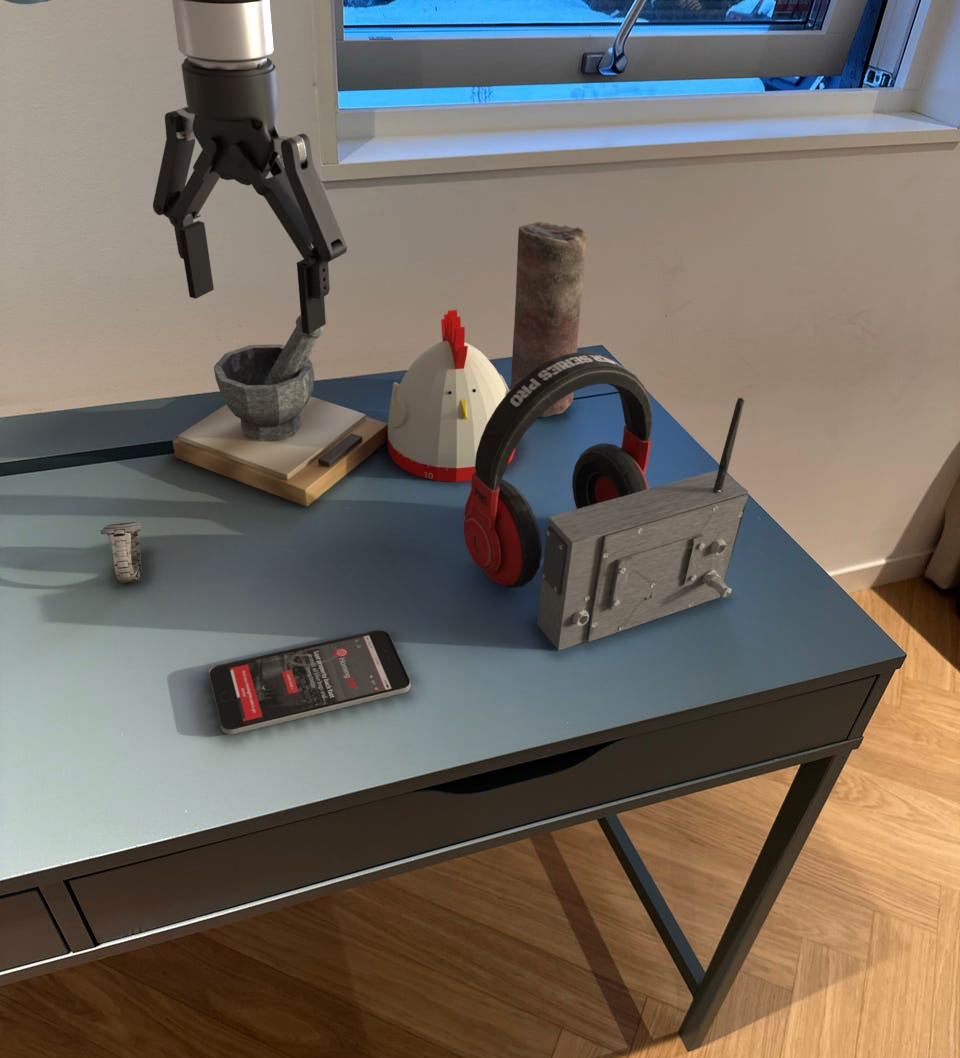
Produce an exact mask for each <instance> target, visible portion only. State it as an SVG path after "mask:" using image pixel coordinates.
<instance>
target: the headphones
mask: <svg viewBox="0 0 960 1058" xmlns="http://www.w3.org/2000/svg"><path fill="white" fill-rule="evenodd" d="M595 385H609V386H611V387H613V388H614V389H615V390H616V391H618V395H619V398H620V401H621V407H622V413H623V419H624V420H623V421H624V426H623V432H622V433H623V435H622V441H621V446H618V445H616V444H613V443H607V442H604V443H603V442H602V443H598V444H595V445H592V446H590V447H588V448H586V449H584V451H583V452H582V453H581V454H580V455H579V457H578V458H577V461H576V463H575V465H574V469H573V473H572V484H571V486H572V488H571V489H572V494H573V500H574V504H575V508H576V509H579V508H583V507H586V506H590V505H593V504H597V503H601V502H604V501H608V500H611V499H615V498H619V497H622V496H626V495H629V494H633V493H636V492H640V491H644V490H647V489H650V486H649V483H648V480H647V478H646V476H645V475H646V471H647V468H648V464H649V459H650V453H651V447H652V439H651V438H650V437H651V434H652V429H653V409H652V401H651V399H650V396H649V395H650V394H649V393H648V391H647V389H646V387H645V385H644V384H643V383H642V382H641V380H640V379H639V378H638V377H637V376H636V375H635V374H634V373H632V372H631V371H629V370H628V369H626V368H625V367H624V366H622V365H621V364H619V363H618V362H616V361H614V360H613V359H611V358H610V357H608V356H607V355H604V354H600V353H598V352H594V351H577V353H571V354H566V355H563V356H560V357H557V358H554V359H551V360H550V361H548V362H546V363H544V364H542V365H540V366H538V367H537V368H535V369H534V370H533V371H531V372H530V373H529V374H527V375H526V376H525V377H524V378H522V379H521V380H520V381H519V382H518V383H517V384H516V385H515V386H514V387H513V388H512V389H511V388H510V389H509V390H510V391H509V392H508V393H507V394H506V396H505V397H504V398H503V400H502V401H501V402H500V404H499V405H498V406H497V408H496V409H495V411H494V412H493V414H492V416H491V418H490V419H489V421H488V423H487V425H486V427H485V429H484V432H483V434H482V436H481V439H480V443H479V446H478V449H477V452H476V459H475V470H476V471H475V472H473V474H472V480H471V485H470V487H471V488H470V492H469V494H468V497H467V500H466V503H465V507H464V513H463V515H464V519H463V524H462V529H463V530H462V532H463V533H462V534H463V538H464V542H465V545H466V548H467V551H468V553H469V555H470V557H471V558H472V560H473V561H474V563H475V564H476V566H478V567H479V568H480V569H481V570H482V571H483V572H484V574H485V575H486V576H487V577H488V578H490V579H491V580H492V581H493V582H496V583H497V584H498V585H500V586H502V587H505V588H507V589H515V588H522V587H523V586H525V585H527V584H528V583H529V582H531V581H533V580H534V578H535V577H536V575H537V574H538V571H539V569H540V567H541V566H540V565H541V563H542V553H543V551H542V549H543V548H542V547H543V545H542V539H541V533H540V529H539V525H538V523H537V518H536V516H535V514H534V512H533V510H532V509H533V508H532V507H531V506H530V504H529V502H528V501H527V499H526V497H525V495H524V494H523V493H522V492H520V490H519V489H518V488H517V487H516V486H515V485H513V484H512V483H511V482H509V481H507V480H505V479H503V476H504V474H505V472H506V470H507V467H508V464H509V463H510V462H509V459H510V457H511V455H512V453H513V451H514V449H515V450H516V447H517V445H518V444H519V442H520V441H521V439H522V438H523V436H524V435H525V433H526V432H527V431H528V430H529V429H530V428H531V426H533V424H534V423H535V422H536V421H537V419H538V418H540V417H539V416H540V415H541V414H542V413H544V412H545V411H546V410H547V409H548V408H549V407H551V406H552V405H553V404H555V403H556V402H557V401H559V400H560V399H561V398H563V397H565V396H567V395H568V394H570V393H572V392H575V391H578V390H581V389H584V388H586V387H589V386H595ZM514 452H515V451H514ZM508 462H509V463H508Z"/></svg>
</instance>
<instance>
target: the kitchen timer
mask: <svg viewBox="0 0 960 1058" xmlns="http://www.w3.org/2000/svg"><path fill="white" fill-rule="evenodd" d="M443 315H444V316H443V318H441V319H440V321H441V322H440V324H441V337H442V339H441V340H442V341H440V342H438V343H436V344H433V345H431V346H430V347H428V348H427V349H425V350H424V352H423V351H422V353H421V354H420V355H418V356H417V358H416V359H415V360H414V361H413V362H412V363H411V365H410V366H409V367H408V369H407V371H406V372H405V374H404V376H403V377H402V379H401V382H400V383H398V382H396V381H394V382H393V384H392V389H391V397H390V403H389V409H388V422H387V424H388V440H387V449H388V454H389V456H390V457H391V459H392V461H393V462H394V463H395V464H396V465H398V466H399V467H400V468H401V469H403V470H404V471H405V472H408V473H410V474H413V475H415V476H416V477H420V478H423V479H428V480H433V481H438V482H452V483H459V482H468V481H472V474H473V472H475V471H476V470H475V459H476V452H477V449H478V446H479V443H480V439H481V436H482V434H483V432H484V429H485V427H486V425H487V423H488V421H489V419H490V418H491V416H492V414H493V412H494V411H495V409H496V408H497V406H498V405H499V404H500V402H501V401H502V400H503V398H504V397H505V396H506V394H507V393H508V392H509V391H510V390H511V389H509V387H508V385H507V383H506V380H505V379H504V377H503V376H502V375H503V374H501V373H499V372H498V370H497V368H496V367H495V366H494V365H493V363H492V362H491V361H490V360H489V359H488V357H486V355H485V354H484V353H483V352H482V351H480V350H479V349H478V348H476V347H475V346H473V345H472V344H469V343H468V342H465V340H466V339H465V335H466V332H465V331H466V328H465V326H462V324H461V316H458V309H451V310H447V313H444V314H443ZM515 451H516V448H515V449H514V451H513V453H512V455H511V457H510V459H509V462H508V464H510V462H511V461H512V460H513V457H514V454H515Z"/></svg>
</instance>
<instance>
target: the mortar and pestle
mask: <svg viewBox="0 0 960 1058" xmlns="http://www.w3.org/2000/svg"><path fill="white" fill-rule="evenodd" d="M324 332H325V327H324V326H322V327H320V328H319V329H317V330H315V331H314V332H312V333H310V334H306V333H303V332H302V322H301V314H300V315H298V316H297V318H296V320H295V327H294V329H293V331H292V332H291V335H290V337H289V338H288V340H287V341H286V343H285V345H284V344H277V343H276V344H250V345H246V346H244V347H240V348H237V349H234V350H232V351H231V350H230V351H228V352H226V353H224V354H223V355H222V356H221V358H220V359H219V360H218V361H217V362H216V363H215V365H214V366H213V371H214V372H213V373H214V378H215V381H216V385H217V387H218V389H219V393H220V394H221V397H222V399H223V401H224V403H225V405H227V406H228V408H229V409H230V410H231V411H232V412H233V414H234V415H235V416H236V417H238V418H240V419H241V427H242V429H243V431H244V433H245V435H246V436H248V437H250V438H253V439H256V440H259V441H280V440H283V439H285V438H288V437H290V436H293V435H295V434H296V433H297V431H298V430H299V428H300V427H301V419H300V417H299V414H300V413H301V411H302V410H303V408H304V407H305V405H306V404H307V402H308V400H309V398H310V396H311V397H312V393H313V391H314V385H315V384H314V383H315V371H314V364H313V363H312V361H311V359H310V356H311V354H312V351H313V349H314V347H315V344H316V342H317V340H318V338H320V337H321V336H322V335H323V333H324Z"/></svg>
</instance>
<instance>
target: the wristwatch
mask: <svg viewBox="0 0 960 1058" xmlns="http://www.w3.org/2000/svg"><path fill="white" fill-rule="evenodd" d="M142 530H143V525H142V524H141V523H140V522H137V521H133V522H121V523H113V524H107V525H105V526H103V528H102V529H100V531H99V532H100V534H101V535H107V537H108V540H109V543H110V548H111V553H112V558H113V559H112V560H113V561H112V563H113V569H114V573H115V576H116V579H117V581H118V582H119V583H120V584H127V583H136V582H139V581H140V577H141V575H142V572H143V571H142V567H143V566H142V551H141V546H140V538H139V531H142Z"/></svg>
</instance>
